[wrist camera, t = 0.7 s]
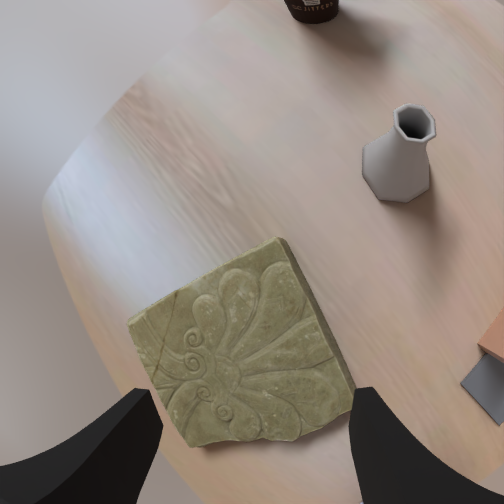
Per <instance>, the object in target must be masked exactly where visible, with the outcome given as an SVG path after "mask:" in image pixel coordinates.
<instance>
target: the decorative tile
mask: <svg viewBox="0 0 504 504" xmlns="http://www.w3.org/2000/svg"><path fill="white" fill-rule="evenodd" d="M127 327H128V330H129V333H130V335H131V337H132V340H133V342H134V345H135V347H136V350H137V353H138V355H139V358H140V360H141V362H142V364H143V366H144V368H145V370H146V372H147V374H148V376H149V378H150V380H151V382H152V384H153V386H154V388H155V390H156V392H157V394H158V396H159V398H160V400H161V402H162V404H163V406H164V407H165V409H166V411H167V413H168V415H169V417H170V419H171V421H172V423H173V424H174V426H175V428H176V429H177V431H178V432H179V434H180V435H181V436H182V437H183V439H184V440H185V442H186V443H187V445H188V446H189V447H190V448H193V447H204V446H206V445H209V444H212V443H214V442H219V441H224V440H234V441H244V442H251V441H253V440H257V439H260V438H265V439H268V440H270V441H274V440H281V441H295V440H296V439H298V438H299V437H300V436H302V435H305V434H308V433H310V432H312V431H315V430H317V429H321V428H323V427H324V426H326V425H327V424H329V423H330V422H332V421H333V420H334V419H336V417H337V416H339V415H341V414H343V413H345V412H347V411H350V410H352V403H353V397H354V390H355V389H357V388H356V386H355V383H354V381H353V379H352V376H351V374H350V372H349V369H348V367H347V365H346V363H345V360H344V358H343V356H342V354H341V351H340V349H339V347H338V345H337V342H336V340H335V338H334V336H333V334H332V332H331V330H330V328H329V326H328V324H327V322H326V320H325V317H324V315H323V313H322V311H321V309H320V307H319V305H318V303H317V301H316V299H315V297H314V295H313V293H312V291H311V289H310V286H309V284H308V283H307V281H306V279H305V277H304V275H303V273H302V271H301V269H300V267H299V265H298V263H297V261H296V259H295V257H294V255H293V253H292V251H291V249H290V247H289V245H288V244H287V242H286V240H284V239H283V238H279V237H276V236H275V237H273V238H271V239H269V240H267V241H265V242H263V243H261V244H259V245H257V246H256V247H254V248H252V249H250V250H248V251H246V252H245V253H243V254H241V255H239V256H237V257H235V258H234V259H232V260H230V261H228V262H226V263H224V264H222V265H221V266H219V267H217V268H215V269H213V270H211V271H210V272H208V273H206V274H204V275H203V276H201V277H199V278H197V279H196V280H194V281H192V282H191V283H189V284H187V285H186V286H184V287H182V288H180V289H179V290H176V291H174V292H172V293H170V294H169V295H167V296H165V297H164V298H162V299H160V300H159V301H157V302H155V303H154V304H152V305H151V306H149V307H147V308H146V309H144V310H142V311H141V312H139V313H138V314H136V315H134V316H133V317H131V318H130V319H129V320H128V321H127Z"/></svg>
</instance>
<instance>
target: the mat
mask: <svg viewBox="0 0 504 504" xmlns="http://www.w3.org/2000/svg"><path fill="white" fill-rule="evenodd" d="M461 384H462V385H463V386H464V388H465V389H466V390H467V391H468V392H469V393H470V394H471V395H472V396H473V397H474V398H475V399H476V400H477V401H478V402H479V404H480V405H481V406H482V407H483V408H484V409H485V410H486V411H487V412H488V413H489V415H490V416H491V417H492V418H493V419H494V420H495V421H496V422H497V423H498V425H500V424H501V423H502V422H503V421H504V363H503V362H501V361H499V360H498V359H496V358H495V357H493V356H491V355H490V354H488V353H487V352H486V354H485V355H484V356H483V357H482V359H481V360H480V361H479V362H478V363H477V365H476V366H475V367H474V368H473V369H472V371H471V372H470V373H469V374H468V375H467V376H466V377H465V378H464V380H463V381H462V382H461Z"/></svg>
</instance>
